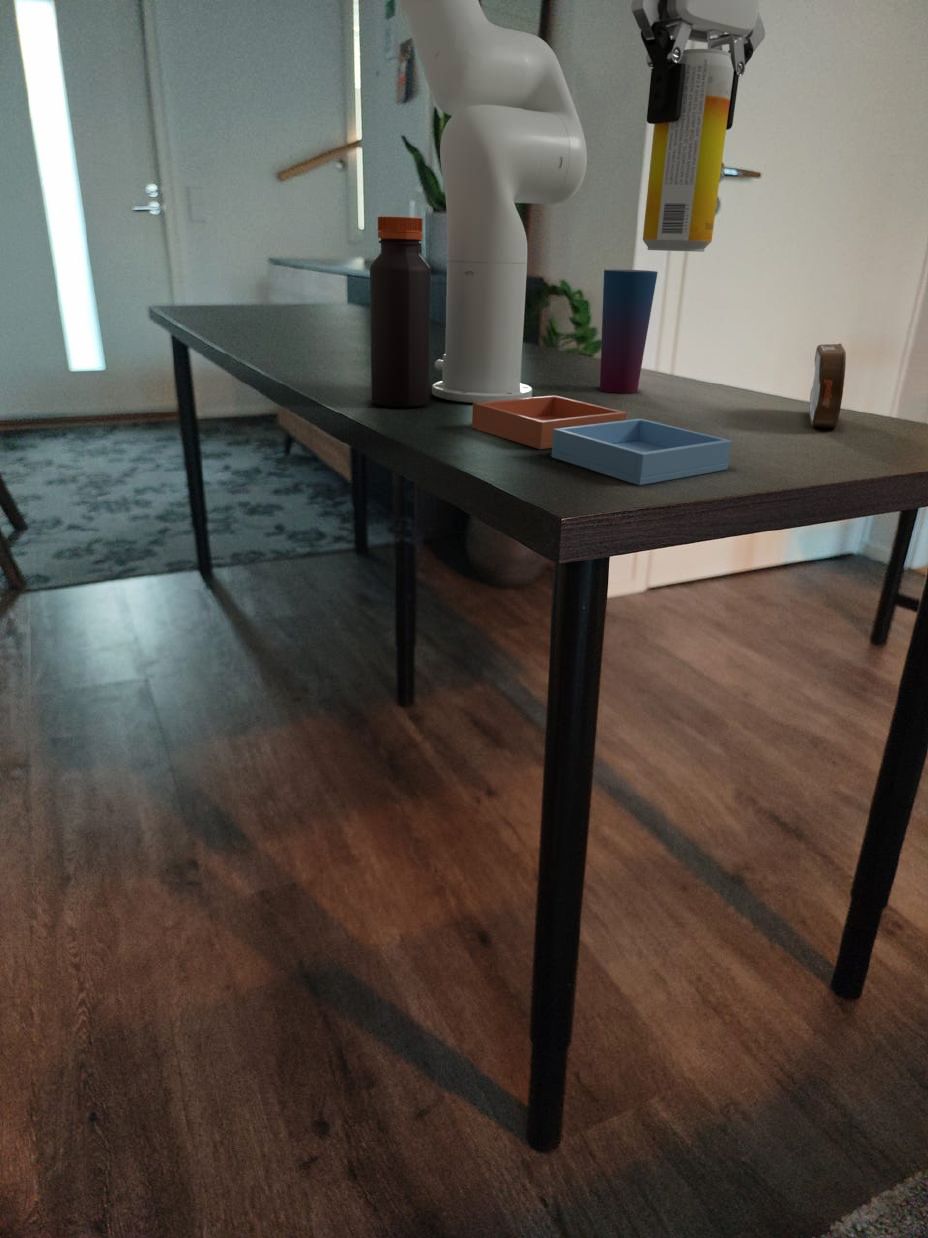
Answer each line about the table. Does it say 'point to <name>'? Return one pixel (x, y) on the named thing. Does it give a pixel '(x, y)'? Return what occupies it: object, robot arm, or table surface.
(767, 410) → the table surface
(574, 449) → the blue tray
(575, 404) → the terracotta tray
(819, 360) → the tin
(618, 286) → the cup
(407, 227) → the bottle
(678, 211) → the beer can
